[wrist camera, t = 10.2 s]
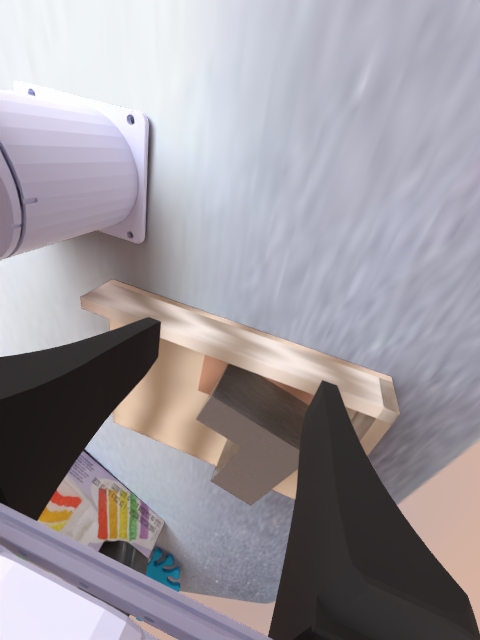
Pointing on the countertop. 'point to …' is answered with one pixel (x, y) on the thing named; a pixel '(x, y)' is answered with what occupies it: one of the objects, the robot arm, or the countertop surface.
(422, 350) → the countertop surface
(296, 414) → the bracket
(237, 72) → the countertop surface
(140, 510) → the cake pan box
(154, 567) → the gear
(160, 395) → the board
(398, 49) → the countertop surface
